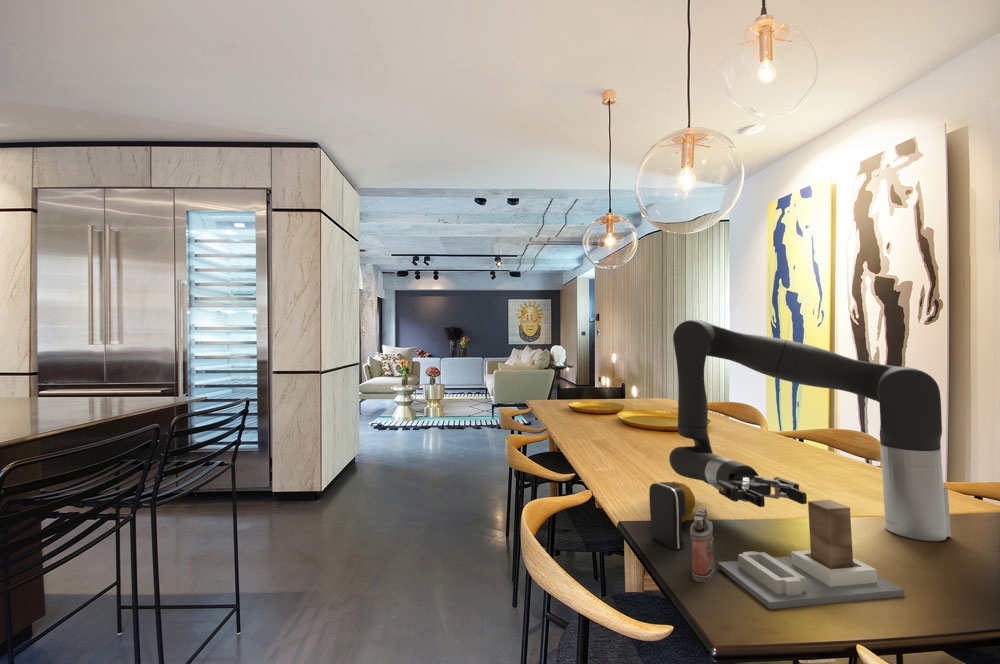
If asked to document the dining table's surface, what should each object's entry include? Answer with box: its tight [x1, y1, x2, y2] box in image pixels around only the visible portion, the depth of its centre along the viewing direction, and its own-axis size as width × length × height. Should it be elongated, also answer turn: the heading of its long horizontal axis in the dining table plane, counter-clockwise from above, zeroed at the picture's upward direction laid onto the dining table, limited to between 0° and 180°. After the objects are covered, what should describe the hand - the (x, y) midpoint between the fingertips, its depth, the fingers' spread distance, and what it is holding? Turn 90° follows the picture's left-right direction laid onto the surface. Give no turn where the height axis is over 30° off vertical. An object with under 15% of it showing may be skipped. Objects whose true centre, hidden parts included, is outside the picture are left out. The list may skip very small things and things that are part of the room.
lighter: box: [689, 507, 716, 583], centre depth 80 cm, size 8×3×10 cm, turn 148°
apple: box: [664, 481, 696, 524], centre depth 102 cm, size 9×9×9 cm
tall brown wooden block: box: [807, 499, 854, 569], centre depth 76 cm, size 4×4×11 cm
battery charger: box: [648, 481, 686, 550], centre depth 92 cm, size 7×4×11 cm, turn 24°
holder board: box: [717, 549, 905, 610], centre depth 75 cm, size 22×13×3 cm, turn 97°
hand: (784, 500), depth 86 cm, fingers open, 8 cm apart
